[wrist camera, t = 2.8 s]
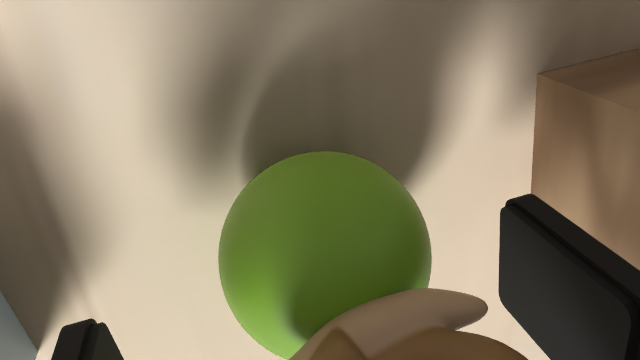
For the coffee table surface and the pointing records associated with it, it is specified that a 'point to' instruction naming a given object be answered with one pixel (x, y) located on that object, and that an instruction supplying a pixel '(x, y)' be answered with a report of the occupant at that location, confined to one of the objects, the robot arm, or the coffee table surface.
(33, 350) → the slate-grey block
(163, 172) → the coffee table surface
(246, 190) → the snail figurine
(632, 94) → the walnut block
